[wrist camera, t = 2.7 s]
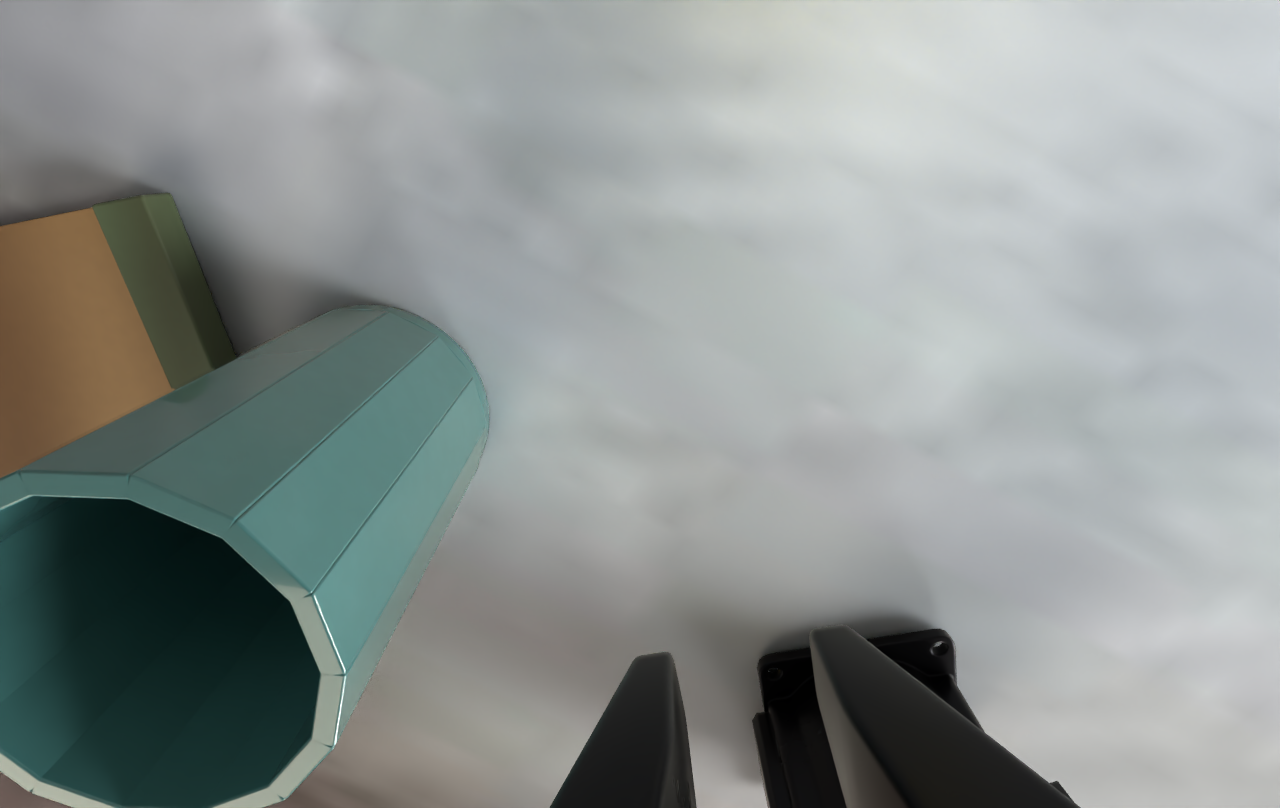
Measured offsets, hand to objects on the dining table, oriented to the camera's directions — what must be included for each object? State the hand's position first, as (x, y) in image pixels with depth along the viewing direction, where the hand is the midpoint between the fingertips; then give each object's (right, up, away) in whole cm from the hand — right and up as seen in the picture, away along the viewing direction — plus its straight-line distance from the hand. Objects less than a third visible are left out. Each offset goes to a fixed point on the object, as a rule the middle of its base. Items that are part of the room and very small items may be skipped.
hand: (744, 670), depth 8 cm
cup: (-9, +3, +13) cm, 16 cm away
